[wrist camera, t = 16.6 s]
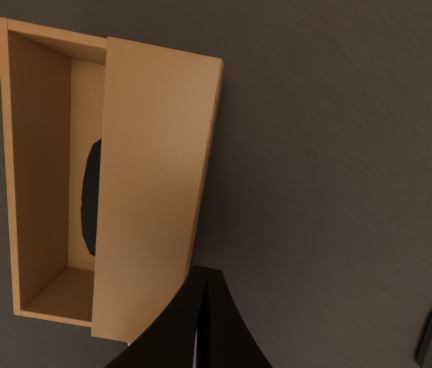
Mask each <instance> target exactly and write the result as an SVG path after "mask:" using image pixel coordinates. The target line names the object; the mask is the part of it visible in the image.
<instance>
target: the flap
mask: <svg viewBox="0 0 432 368" xmlns="http://www.w3.org/2000/svg"><path fill="white" fill-rule="evenodd" d="M221 66H222V59H221V58H216V57H211V56H206V55H201V54H196V53H191V52H185V51H180V50H175V49H170V48H165V47H160V46H155V45H150V44H145V43H140V42H135V41H130V40H125V39H120V38H115V37H110V36H107V50H106V69H105V87H104V106H103V124H102V143H101V161H100V180H99V198H98V217H97V235H96V254H95V272H94V290H93V309H92V327H91V336H95V337H100V338H106V339H112V340H117V341H123V342H129V343H133V342H134V341H135V340H136V339H137V338H138V337H139V336H140V335H141V334H142V333H143V332H144V331H145V330H146V329H147V328H148V327H149V326H150V325H151V324H152V322H153V321H154V320H155V319H156V318H157V317H158V316H159V315H160V313H161V312H162V311H163V310H164V309H165V307H166V306H167V305H168V304H169V302H170V301H171V300H172V299H173V297H174V296H175V294H176V293H177V291H178V290H179V289H180V287H181V286H182V284H183V282H184V277H185V271H186V265H187V259H188V254H189V248H190V242H191V237H192V231H193V225H194V220H195V214H196V208H197V202H198V197H199V191H200V185H201V180H202V174H203V168H204V162H205V157H206V151H207V145H208V140H209V134H210V128H211V123H212V117H213V111H214V105H215V100H216V94H217V88H218V83H219V77H220V71H221Z"/></svg>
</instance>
